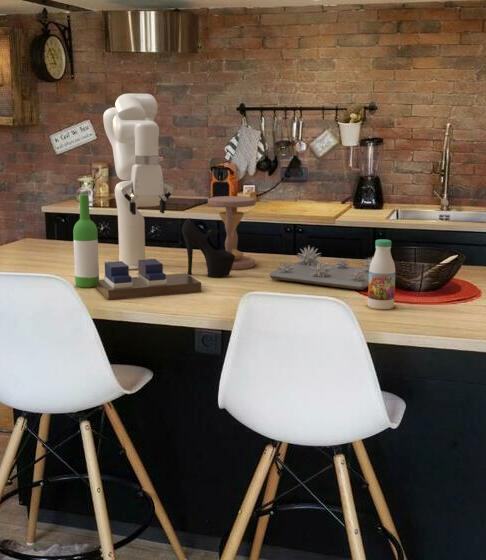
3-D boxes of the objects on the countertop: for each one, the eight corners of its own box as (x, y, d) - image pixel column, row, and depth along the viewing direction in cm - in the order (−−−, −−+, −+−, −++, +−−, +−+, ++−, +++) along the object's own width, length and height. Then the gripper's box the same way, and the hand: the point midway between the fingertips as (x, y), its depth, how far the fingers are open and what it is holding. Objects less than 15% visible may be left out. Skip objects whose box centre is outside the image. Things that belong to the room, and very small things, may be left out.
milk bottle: (364, 303, 237) (367, 238, 233) (390, 303, 238) (393, 238, 234) (370, 310, 230) (373, 242, 226) (396, 309, 230) (400, 242, 226)
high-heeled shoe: (232, 279, 271) (233, 221, 267) (179, 276, 275) (179, 219, 270) (237, 274, 279) (238, 218, 274) (186, 271, 282) (185, 216, 278)
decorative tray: (267, 280, 268) (267, 252, 266) (300, 268, 290) (300, 241, 288) (364, 292, 251) (365, 262, 249) (391, 278, 274) (392, 250, 271)
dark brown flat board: (97, 288, 255) (96, 279, 254) (185, 281, 266) (185, 273, 265) (108, 299, 240) (108, 290, 240) (201, 291, 252) (201, 282, 251)
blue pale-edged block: (137, 277, 258) (137, 259, 256) (155, 276, 260) (154, 258, 259) (148, 285, 246) (148, 267, 245) (166, 284, 248) (166, 265, 247)
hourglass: (245, 271, 284) (246, 202, 278) (200, 268, 289) (200, 200, 284) (260, 262, 300) (261, 197, 295) (218, 259, 305) (217, 195, 300)
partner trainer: (104, 280, 253) (103, 262, 252) (122, 278, 256) (121, 260, 254) (113, 288, 242) (112, 269, 240) (132, 287, 244) (132, 268, 243)
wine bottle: (78, 282, 263) (74, 193, 257) (101, 283, 263) (98, 193, 257) (72, 288, 256) (68, 195, 249) (96, 288, 255) (93, 196, 249)
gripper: (169, 159, 261) (169, 210, 265) (117, 160, 254) (119, 213, 258) (176, 161, 254) (176, 214, 258) (123, 162, 247) (124, 216, 251)
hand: (147, 213), depth 258 cm, fingers open, 9 cm apart
